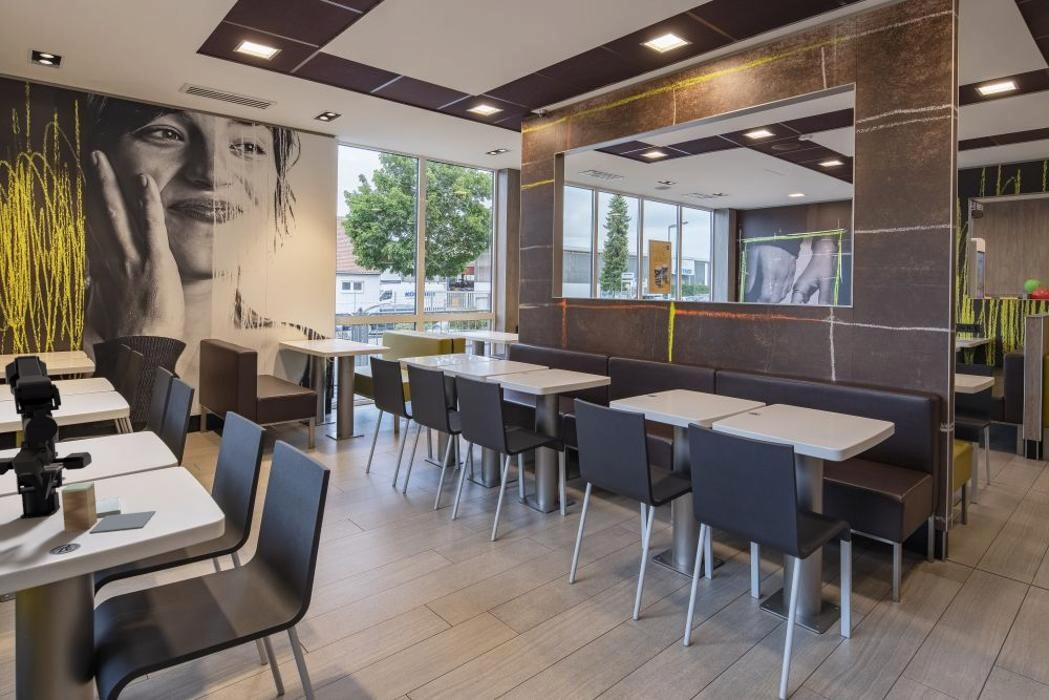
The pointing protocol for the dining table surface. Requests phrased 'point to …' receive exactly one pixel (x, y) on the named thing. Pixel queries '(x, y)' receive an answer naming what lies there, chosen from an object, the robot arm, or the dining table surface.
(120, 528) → the grey mat
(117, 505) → the hard drive
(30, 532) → the dining table surface
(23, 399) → the robot arm
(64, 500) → the oak block
